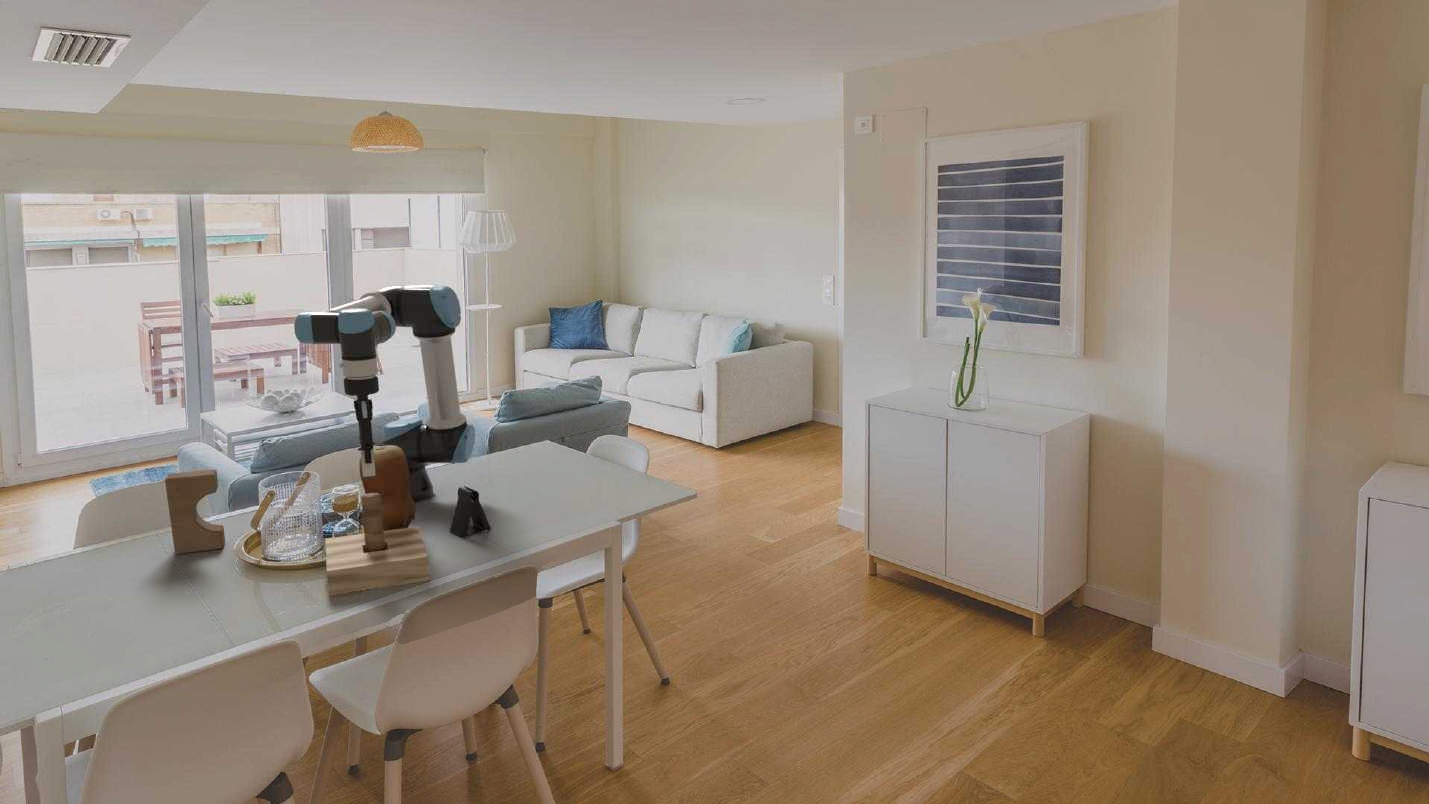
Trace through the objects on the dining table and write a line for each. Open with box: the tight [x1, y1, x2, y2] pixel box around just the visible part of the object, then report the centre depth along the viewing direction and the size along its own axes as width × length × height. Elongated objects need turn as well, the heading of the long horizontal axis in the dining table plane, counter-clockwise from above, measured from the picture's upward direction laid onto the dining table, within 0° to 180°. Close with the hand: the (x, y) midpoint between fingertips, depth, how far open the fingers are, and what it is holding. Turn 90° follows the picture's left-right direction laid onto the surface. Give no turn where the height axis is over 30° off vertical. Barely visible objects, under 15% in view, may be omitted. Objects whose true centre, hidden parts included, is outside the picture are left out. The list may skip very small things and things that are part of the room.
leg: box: [360, 493, 385, 553], centre depth 224 cm, size 4×4×18 cm
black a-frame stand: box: [449, 485, 492, 539], centre depth 252 cm, size 9×6×12 cm, turn 135°
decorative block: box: [164, 468, 226, 555], centre depth 239 cm, size 11×6×20 cm, turn 111°
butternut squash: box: [358, 445, 417, 531], centre depth 246 cm, size 14×13×25 cm
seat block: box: [324, 526, 430, 597], centre depth 226 cm, size 22×22×6 cm
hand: (369, 473), depth 221 cm, fingers open, 3 cm apart
